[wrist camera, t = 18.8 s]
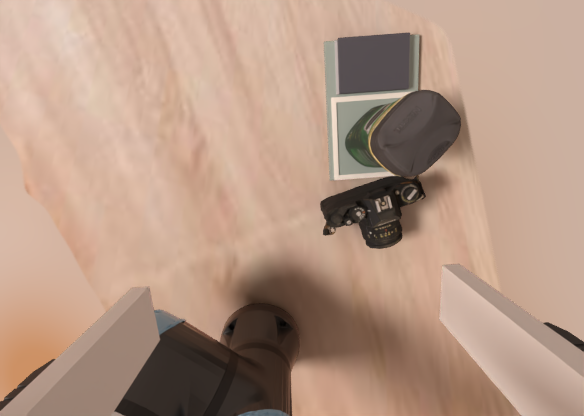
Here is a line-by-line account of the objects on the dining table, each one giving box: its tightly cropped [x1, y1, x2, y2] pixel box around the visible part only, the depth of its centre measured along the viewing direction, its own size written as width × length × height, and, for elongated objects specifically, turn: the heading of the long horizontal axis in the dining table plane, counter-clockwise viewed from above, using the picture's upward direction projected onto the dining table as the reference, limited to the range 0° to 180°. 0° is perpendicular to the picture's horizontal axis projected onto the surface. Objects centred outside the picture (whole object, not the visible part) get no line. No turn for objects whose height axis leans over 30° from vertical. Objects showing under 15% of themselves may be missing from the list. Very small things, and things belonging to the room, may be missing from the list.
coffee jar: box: [345, 90, 461, 176], centre depth 39 cm, size 10×8×19 cm
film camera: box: [320, 175, 426, 249], centre depth 47 cm, size 18×12×10 cm
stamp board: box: [324, 35, 419, 180], centre depth 48 cm, size 15×22×1 cm
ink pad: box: [335, 33, 410, 95], centre depth 45 cm, size 12×8×1 cm
